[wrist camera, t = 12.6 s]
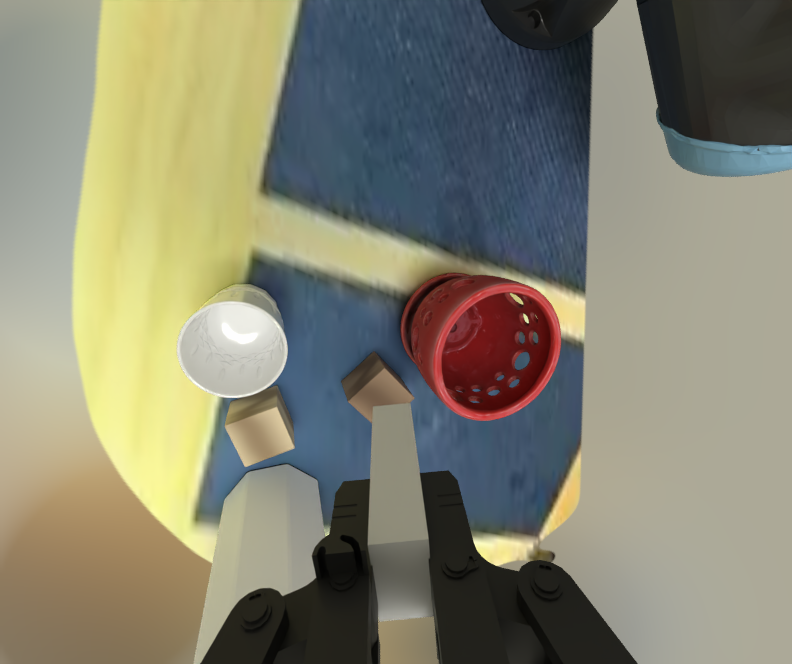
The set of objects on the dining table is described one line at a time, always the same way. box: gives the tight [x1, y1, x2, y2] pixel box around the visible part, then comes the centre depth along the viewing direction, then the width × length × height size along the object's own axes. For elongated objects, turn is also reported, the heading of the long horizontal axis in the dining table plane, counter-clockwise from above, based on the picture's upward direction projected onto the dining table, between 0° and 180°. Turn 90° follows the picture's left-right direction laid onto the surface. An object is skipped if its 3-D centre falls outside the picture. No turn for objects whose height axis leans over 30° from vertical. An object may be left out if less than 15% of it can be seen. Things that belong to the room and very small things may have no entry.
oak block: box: [225, 385, 295, 467], centre depth 41 cm, size 5×5×5 cm
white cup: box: [177, 284, 288, 398], centre depth 35 cm, size 8×8×10 cm
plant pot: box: [401, 273, 561, 421], centre depth 40 cm, size 13×13×12 cm
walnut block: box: [341, 352, 414, 423], centre depth 43 cm, size 5×5×5 cm
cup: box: [193, 464, 325, 664], centre depth 38 cm, size 11×11×18 cm
